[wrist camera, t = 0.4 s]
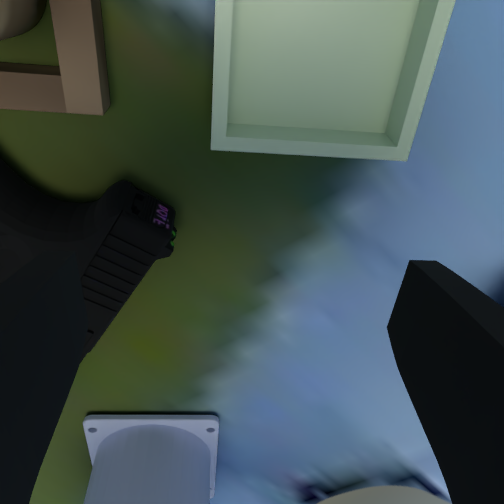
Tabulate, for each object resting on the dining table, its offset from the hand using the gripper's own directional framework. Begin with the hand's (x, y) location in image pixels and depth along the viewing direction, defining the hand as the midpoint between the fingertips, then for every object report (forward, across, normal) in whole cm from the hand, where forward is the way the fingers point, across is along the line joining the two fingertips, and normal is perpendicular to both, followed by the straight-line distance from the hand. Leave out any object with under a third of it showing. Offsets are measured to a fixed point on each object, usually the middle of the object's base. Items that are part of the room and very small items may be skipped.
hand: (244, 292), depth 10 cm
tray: (+9, -3, -4) cm, 10 cm away
